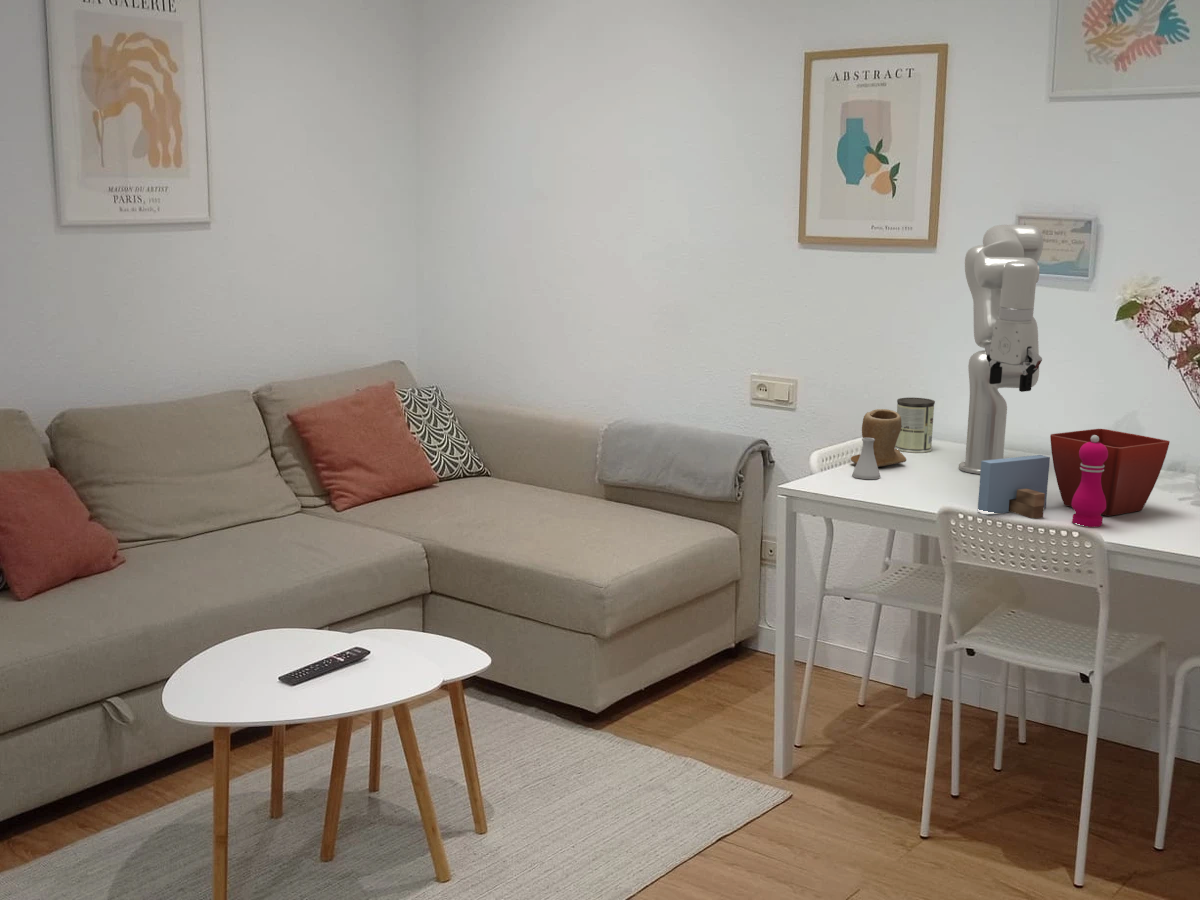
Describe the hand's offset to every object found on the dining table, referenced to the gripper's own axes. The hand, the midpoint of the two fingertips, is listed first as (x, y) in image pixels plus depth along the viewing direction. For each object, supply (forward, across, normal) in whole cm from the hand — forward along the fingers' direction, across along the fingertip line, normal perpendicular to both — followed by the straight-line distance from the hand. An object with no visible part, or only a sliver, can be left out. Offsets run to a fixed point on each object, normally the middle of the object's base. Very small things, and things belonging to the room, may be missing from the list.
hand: (1009, 387), depth 309 cm
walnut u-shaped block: (+26, +12, -8) cm, 30 cm away
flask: (+28, -30, -17) cm, 44 cm away
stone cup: (+28, -40, -4) cm, 49 cm away
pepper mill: (+26, +28, -1) cm, 38 cm away
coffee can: (+30, -54, +19) cm, 64 cm away
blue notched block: (+26, +12, -8) cm, 29 cm away
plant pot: (+27, +19, +14) cm, 35 cm away
